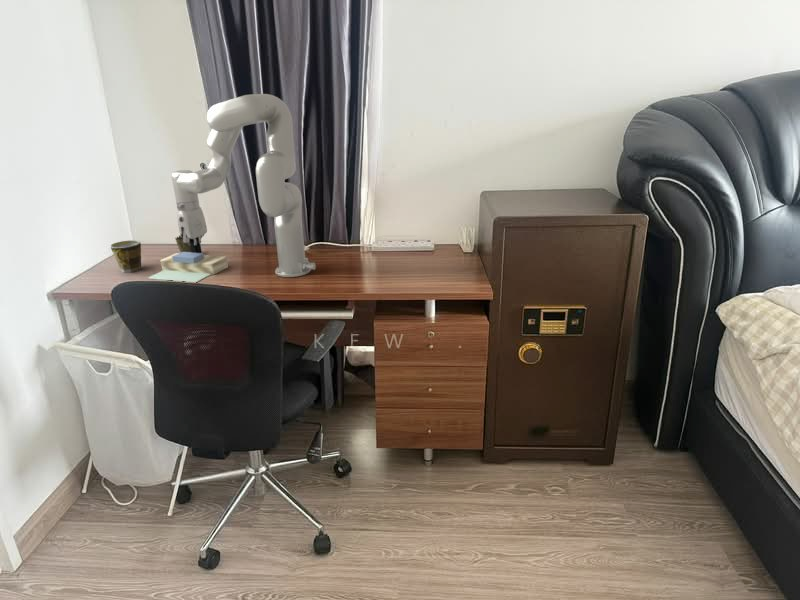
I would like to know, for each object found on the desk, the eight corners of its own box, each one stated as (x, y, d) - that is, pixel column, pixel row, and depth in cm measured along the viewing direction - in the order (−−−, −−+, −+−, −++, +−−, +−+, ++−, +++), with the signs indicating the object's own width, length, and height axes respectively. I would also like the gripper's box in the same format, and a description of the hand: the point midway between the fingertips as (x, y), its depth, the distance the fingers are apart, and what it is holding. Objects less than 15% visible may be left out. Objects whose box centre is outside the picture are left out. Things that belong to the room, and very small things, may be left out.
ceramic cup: (123, 266, 199) (116, 240, 195) (149, 264, 199) (144, 239, 196) (108, 277, 187) (101, 250, 183) (137, 276, 187) (131, 249, 184)
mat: (211, 274, 187) (211, 273, 187) (195, 283, 179) (195, 282, 179) (164, 270, 192) (164, 269, 192) (147, 278, 184) (147, 278, 184)
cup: (198, 252, 213) (195, 233, 210) (198, 257, 207) (194, 237, 204) (179, 254, 211) (175, 235, 208) (178, 259, 205) (174, 239, 202)
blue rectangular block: (204, 258, 191) (203, 253, 191) (194, 263, 186) (193, 258, 185) (184, 256, 194) (183, 251, 193) (173, 261, 189) (172, 256, 188)
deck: (228, 266, 194) (226, 256, 193) (213, 274, 186) (211, 264, 185) (178, 263, 200) (176, 253, 199) (162, 270, 192) (160, 260, 191)
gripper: (183, 210, 179) (192, 261, 186) (210, 201, 192) (217, 249, 199) (165, 209, 181) (175, 259, 188) (192, 201, 194) (201, 248, 201)
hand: (197, 254), depth 194 cm, fingers closed
